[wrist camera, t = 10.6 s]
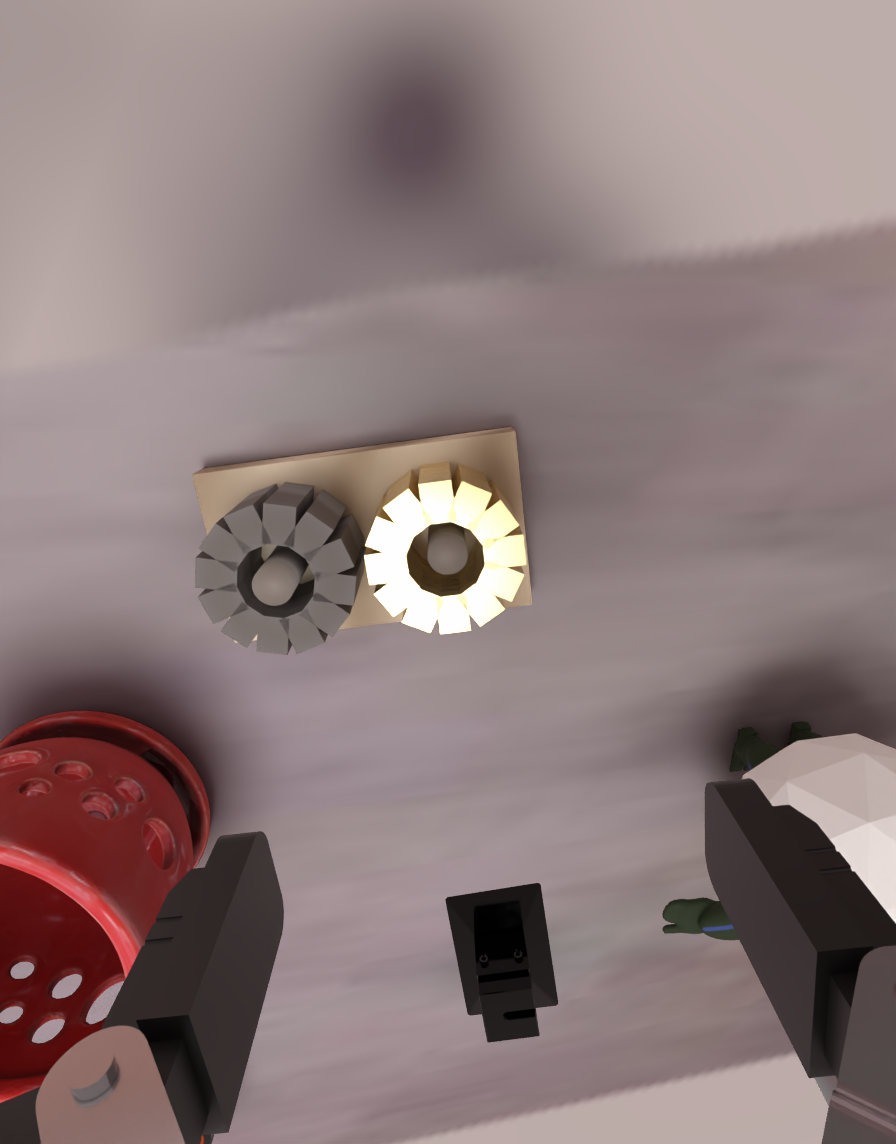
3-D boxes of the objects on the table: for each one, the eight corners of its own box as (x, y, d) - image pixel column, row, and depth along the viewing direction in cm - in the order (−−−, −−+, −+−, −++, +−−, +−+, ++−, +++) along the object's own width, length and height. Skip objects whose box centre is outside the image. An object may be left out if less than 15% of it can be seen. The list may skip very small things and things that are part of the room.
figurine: (605, 851, 38) (691, 1108, 25) (598, 686, 34) (694, 888, 22) (928, 818, 38) (1179, 1062, 25) (954, 649, 34) (1260, 831, 21)
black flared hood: (569, 1011, 43) (584, 1087, 38) (455, 1025, 43) (457, 1102, 38) (548, 854, 38) (562, 919, 34) (422, 871, 39) (420, 937, 34)
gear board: (511, 426, 30) (529, 447, 24) (528, 593, 33) (547, 646, 27) (203, 468, 30) (150, 497, 25) (243, 629, 33) (203, 689, 27)
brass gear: (506, 453, 29) (517, 471, 25) (519, 588, 31) (531, 622, 27) (363, 473, 29) (352, 492, 25) (386, 605, 31) (379, 642, 27)
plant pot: (255, 875, 38) (178, 1104, 27) (23, 893, 38) (-151, 1128, 27) (211, 667, 34) (98, 834, 22) (-50, 688, 34) (-295, 864, 22)
